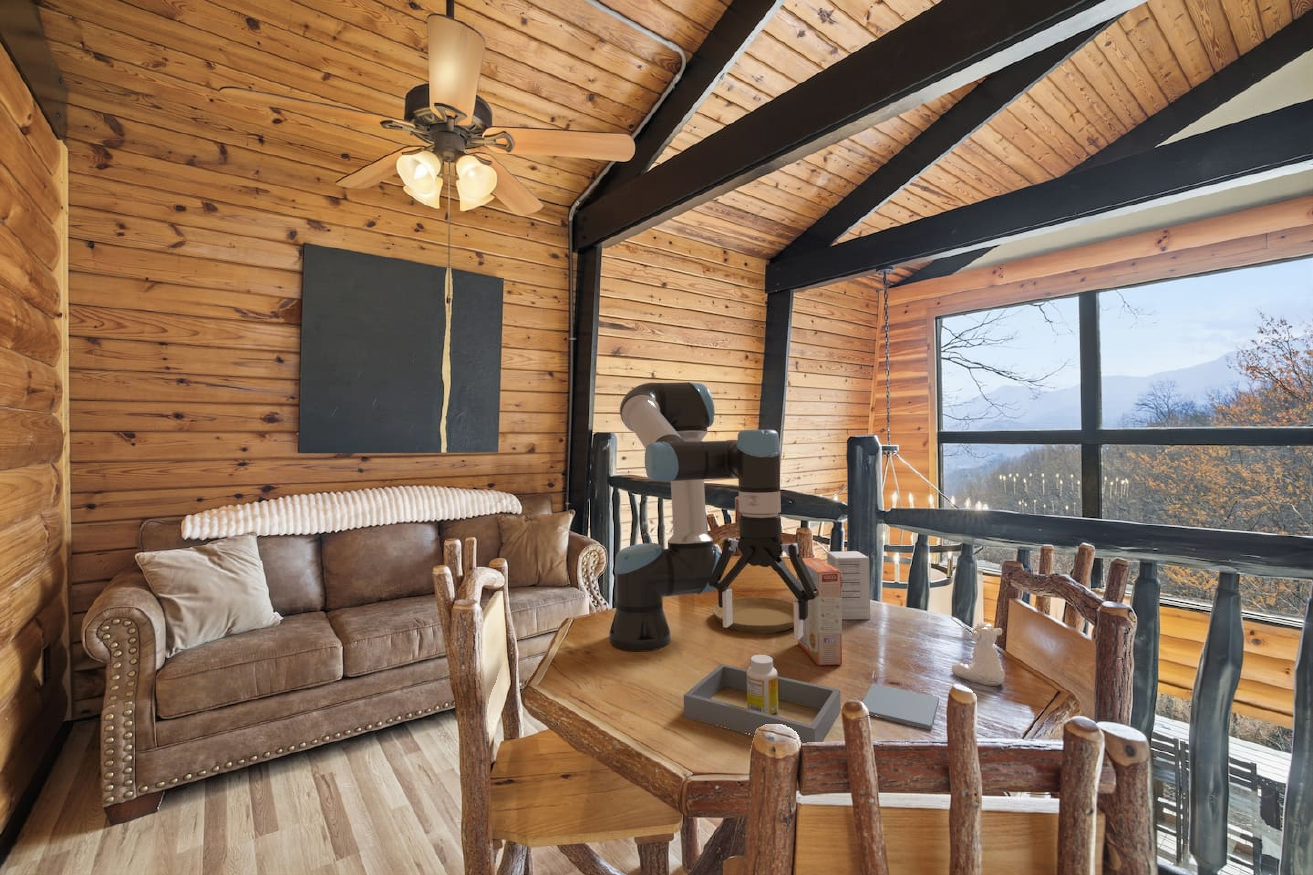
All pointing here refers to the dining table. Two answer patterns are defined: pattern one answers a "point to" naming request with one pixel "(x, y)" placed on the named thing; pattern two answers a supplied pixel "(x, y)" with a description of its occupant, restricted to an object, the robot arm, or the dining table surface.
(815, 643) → the cracker box
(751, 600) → the plant saucer
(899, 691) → the mat
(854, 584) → the supplement box
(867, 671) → the dining table surface
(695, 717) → the bin
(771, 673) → the supplement bottle
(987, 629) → the white creature statuette
